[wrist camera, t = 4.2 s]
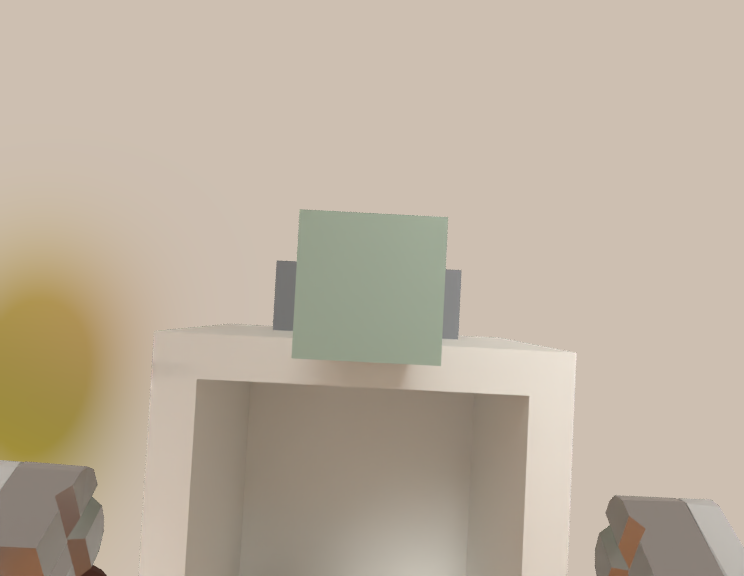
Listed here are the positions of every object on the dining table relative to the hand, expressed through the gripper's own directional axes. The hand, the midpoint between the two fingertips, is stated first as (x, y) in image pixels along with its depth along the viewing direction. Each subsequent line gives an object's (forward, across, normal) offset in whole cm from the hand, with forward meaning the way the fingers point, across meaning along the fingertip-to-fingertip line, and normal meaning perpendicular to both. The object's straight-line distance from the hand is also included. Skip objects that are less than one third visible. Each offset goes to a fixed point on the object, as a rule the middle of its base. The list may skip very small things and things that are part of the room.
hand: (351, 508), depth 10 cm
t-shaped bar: (+11, 0, +4) cm, 12 cm away
